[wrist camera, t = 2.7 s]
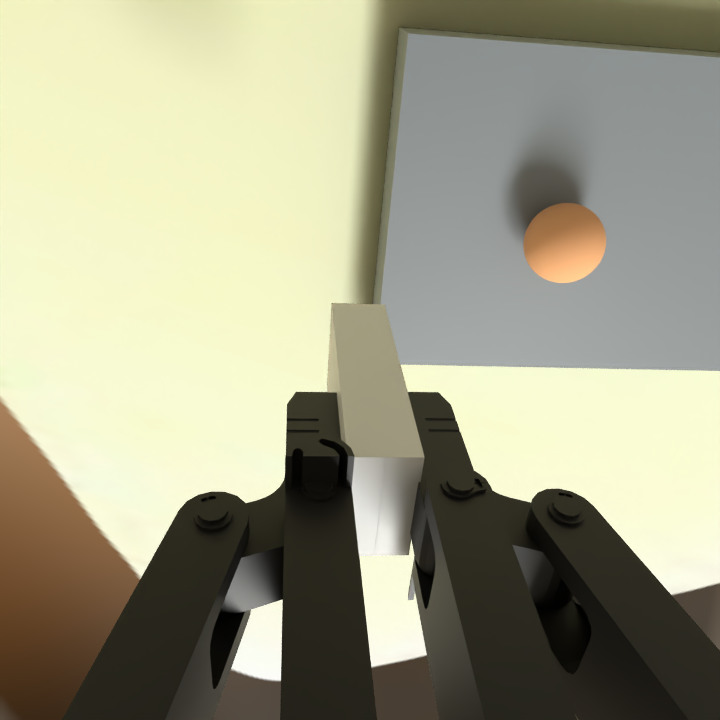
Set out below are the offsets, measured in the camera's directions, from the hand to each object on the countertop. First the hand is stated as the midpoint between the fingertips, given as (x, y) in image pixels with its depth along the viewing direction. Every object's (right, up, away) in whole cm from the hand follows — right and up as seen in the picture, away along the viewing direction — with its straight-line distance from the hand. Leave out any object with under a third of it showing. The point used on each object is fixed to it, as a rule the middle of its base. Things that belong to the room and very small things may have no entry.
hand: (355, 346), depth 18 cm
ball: (+8, +4, +7) cm, 12 cm away
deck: (+15, +6, +12) cm, 20 cm away
